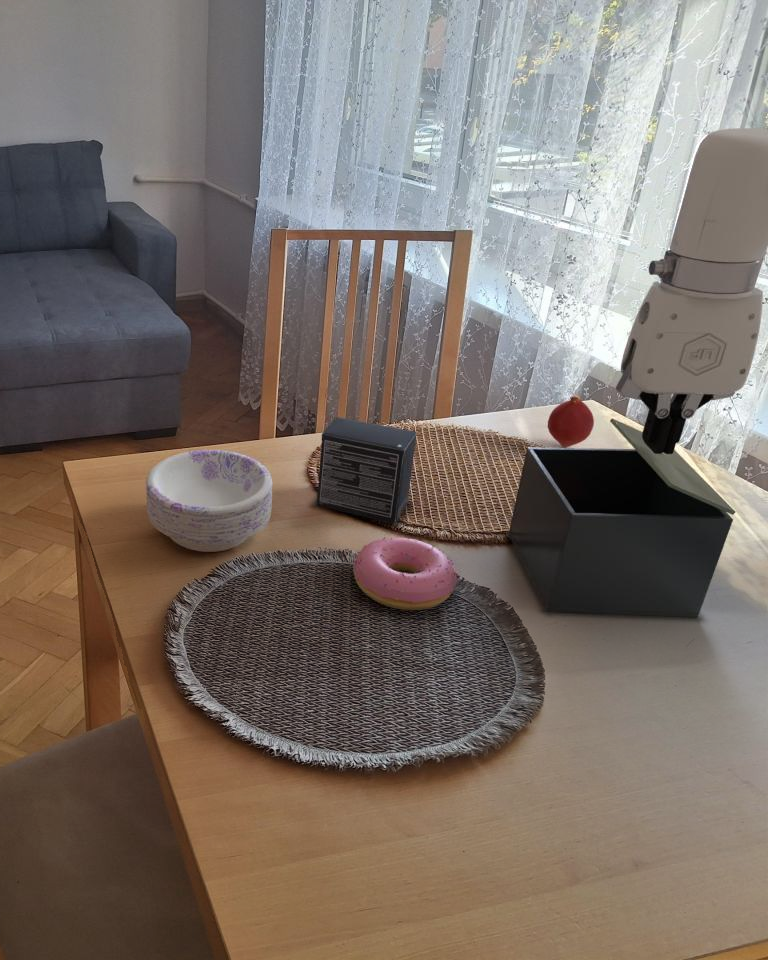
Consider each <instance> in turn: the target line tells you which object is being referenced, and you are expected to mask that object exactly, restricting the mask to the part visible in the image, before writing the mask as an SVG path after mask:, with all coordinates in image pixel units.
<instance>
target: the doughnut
mask: <svg viewBox="0 0 768 960" xmlns="http://www.w3.org/2000/svg"><path fill="white" fill-rule="evenodd" d="M357 552H358V553H357V554H356V556H355V557H354V561H353V565H352V571H353V574H354V579H355V582H356V584H357V585H358V587H359V589H360V590H361V591H362V592H363V593H364V594H365V595H366V596H367V597H369V598H370V599H371V600H373V601H375V602H376V603H378V604H381V605H382V606H386V607H389V608H392V609H397V610H403V611H422V610H428V609H431V608H434V607H437V606H439V605H441V604H442V603H444V602H445V601H446V600H448V599H449V597H450V596H451V595H452V593H453V591H454V590H456V585H457V578H458V575H457V574H456V573H457V572H456V570H455V564H454V562H453V560H451V559H450V557H449V555H446V554H445V553H444V551H441V549H438V548H437V547H435V545H433V544H430V543H428V542H425V541H421V540H418V539H415V538H410V537H408V538H407V537H385V536H384V537H383V538H381V539H377V540H374V541H372V542H370V543H368V544H365V545H363V547H362V549H361V550H360V551H357Z"/></svg>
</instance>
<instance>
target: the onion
mask: <svg viewBox="0 0 768 960" xmlns="http://www.w3.org/2000/svg"><path fill="white" fill-rule="evenodd" d="M569 398H570V400H567V401H566V400H565V401H563V402H561V403H559V404H558V405H557V406H556V407H554V409H553V410H552V411H551V412H550V414H549V417H548V420H547V429H548V432H549V434H550V435H551V437H552V438H553V439H554V440H555V441H556V442H557V443H558V444H559V445H560V447H561V448H571V447H572V446H575V445H579V444H581V443H582V442H583V441H585V440H587V438H589V436H590V435H591V434H592V431H593V428H594V425H595V419H594V415H593V412H592V411H591V409H590V408H589V406H588V405H587V404H586V403H585V402H583V400H582V399H581V397H580V396H578V395H573V396H571V397H569Z"/></svg>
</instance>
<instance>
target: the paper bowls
mask: <svg viewBox="0 0 768 960" xmlns="http://www.w3.org/2000/svg"><path fill="white" fill-rule="evenodd" d="M272 479H273V478H272V474H271V473H270V471H269V470H268V469H267V467H266V466H265V465H264V464H263V463H261V462H260V461H258V460H256V459H254V458H253V457H250V456H248V455H245V454H242V453H238V452H234V451H230V450H229V451H228V450H221V449H196V450H190V451H185V452H180V453H177V454H174V455H171V456H169V457H166V458H164V459H162V460H160V461H159V462H158V463H157V464H154V466H153V467H151V469H150V470H149V471H148V474H147V476H146V479H145V491H146V514H147V517H148V520H149V522H150V523H151V525H152V526H153V527H154V528H155V529H156V530H157V531H159V532H160V533H161V534H163V535H165V536H166V537H169V538H170V539H171V540H172V541H173V542H174V543H176V544H177V545H179V546H180V547H183V548H184V549H187V550H191V551H195V552H203V553H211V552H212V553H215V552H216V553H217V552H223V551H226V550H230V549H233V548H235V547H237V546H239V545H241V544H243V543H244V542H245V541H246V540H247V539H248V538H251V537H252V536H254V535H256V534H258V533H259V532H261V531H262V530H263V529H265V527H266V526H267V525H268V523H269V522H270V519H271V514H272V503H273V502H272V501H273V480H272Z"/></svg>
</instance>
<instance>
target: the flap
mask: <svg viewBox="0 0 768 960" xmlns="http://www.w3.org/2000/svg"><path fill="white" fill-rule="evenodd" d="M609 422H610V423H611V424H612V426H613V427H614V428H615V429H616V430H617V431H618V432H619V433H620V435H622V436H623V438H624V439H625V440H626V441H627V442H628V443H629V444H630V445H631V447H632V448H633V449H635V450H636V451H637V452H638V453H639V454H640V455H641V456H642V457H643V458H644V460H645V461H646V462H647V463H648V464H649V465H650V466H651V467H652V468H653V470H654V471H655V472H656V473H657V474H658V475H659V476H660V477H661V478H662V480H663V481H664V482H665V483H666V484H667V485H668V486H669V487H671V488H673V489H675V490H678V491H680V492H682V493H685V494H687V495H689V496H691V497H694V498H696V499H698V500H700V501H703V502H705V503H707V504H709V505H712V506H714V507H716V508H718V509H721V510H723V511H725V512H727V513H728V514H729V515H732V516H733V515H735V514H736V511H735V509H734V508H733V507H731V505H730V504H729V503H728V502H727V501H726V500H724V498H723V497H722V496H721V495H720V494H719V493H718V492H717V491H716V490H715V489H714V488H713V487H712V486H711V485H710V484H709V483H708V482H707V481H706V480H705V479H704V478H703V477H702V476H701V475H700V474H699V473H698V472H697V471H696V470H695V469H694V467H692V466H691V464H689V463H688V462H687V461H686V460H685V459H684V458H683V457H682V456H681V455H680V453H679V452H677V451H676V450H675V449H674V452H673V454H665V453H664V452H663V453H661V454H654V453H653V451H652V450H651V449H650V448H649V447H648V446H647V445H646V444H645V443H644V440H643V438H642V433H643V430H642V431H641V430H639V429H637V428H635V427H634V426H633V427H632V426H631V425H628V424H626V423H624V422H621V421H620V420H617V419H615V418H611V419H610V420H609Z"/></svg>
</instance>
